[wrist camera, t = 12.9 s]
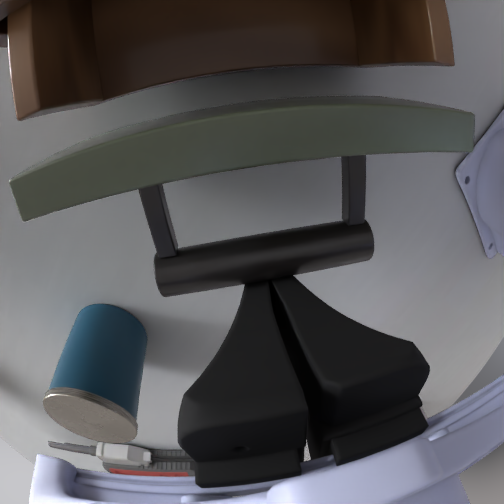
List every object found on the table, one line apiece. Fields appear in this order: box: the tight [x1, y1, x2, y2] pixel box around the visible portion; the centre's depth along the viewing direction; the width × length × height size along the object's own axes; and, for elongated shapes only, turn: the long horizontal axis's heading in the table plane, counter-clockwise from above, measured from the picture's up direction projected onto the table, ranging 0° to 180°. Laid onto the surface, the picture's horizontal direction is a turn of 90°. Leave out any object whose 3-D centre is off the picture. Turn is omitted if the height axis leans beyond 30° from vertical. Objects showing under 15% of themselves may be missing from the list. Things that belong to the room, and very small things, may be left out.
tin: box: [43, 304, 148, 443], centre depth 14 cm, size 5×5×6 cm
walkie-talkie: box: [48, 441, 195, 477], centre depth 25 cm, size 9×4×20 cm
